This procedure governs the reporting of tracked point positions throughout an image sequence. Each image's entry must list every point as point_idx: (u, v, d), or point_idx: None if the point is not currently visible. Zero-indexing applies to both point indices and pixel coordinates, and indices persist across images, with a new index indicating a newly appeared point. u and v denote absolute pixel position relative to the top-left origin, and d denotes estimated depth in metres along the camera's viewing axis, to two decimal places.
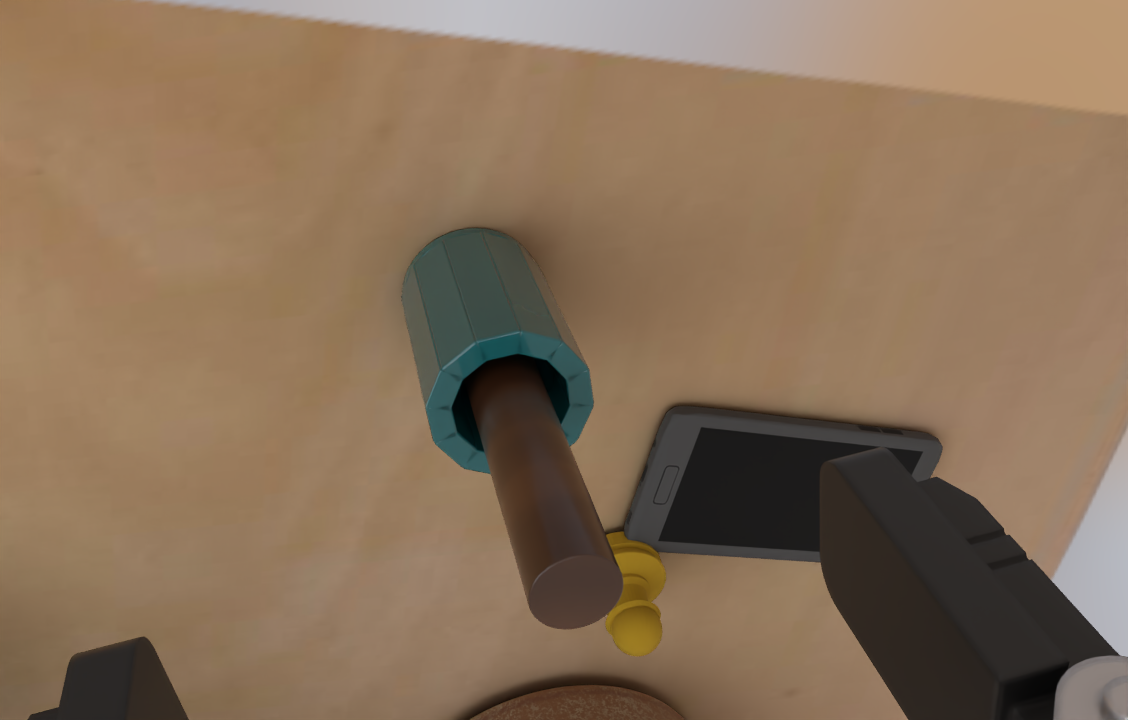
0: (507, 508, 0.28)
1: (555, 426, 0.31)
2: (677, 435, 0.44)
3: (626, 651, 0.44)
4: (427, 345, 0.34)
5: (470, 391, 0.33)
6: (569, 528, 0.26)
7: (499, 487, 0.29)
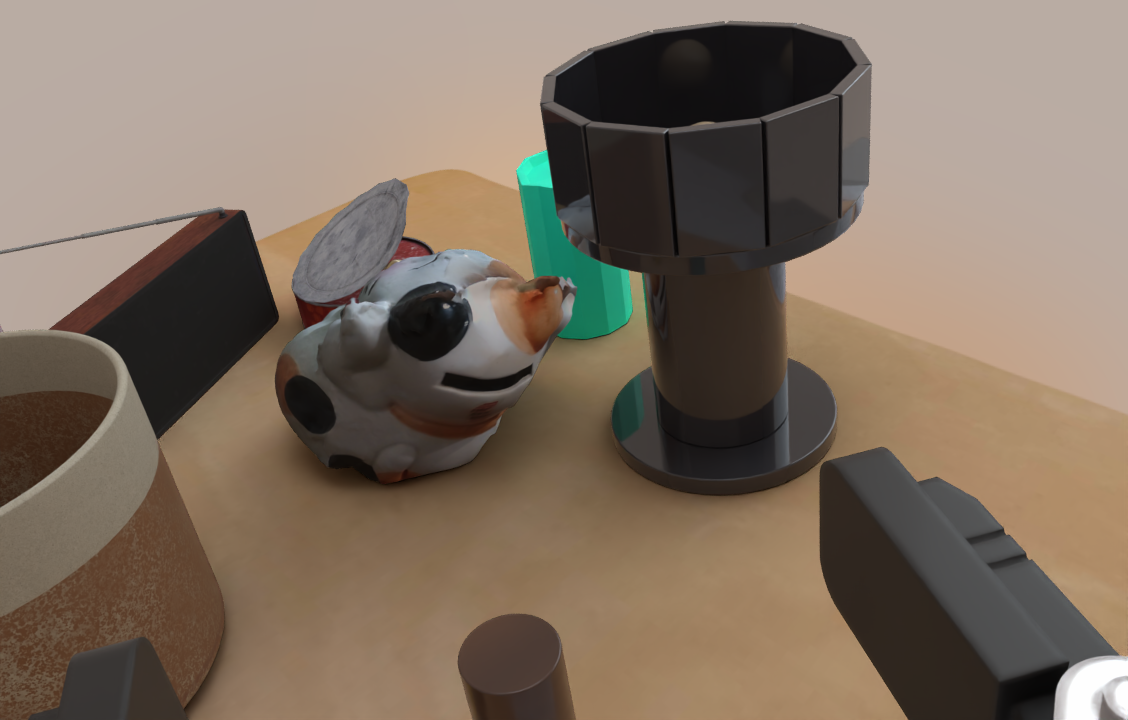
0: None
1: None
2: None
3: None
4: None
5: None
6: (554, 706, 0.24)
7: None
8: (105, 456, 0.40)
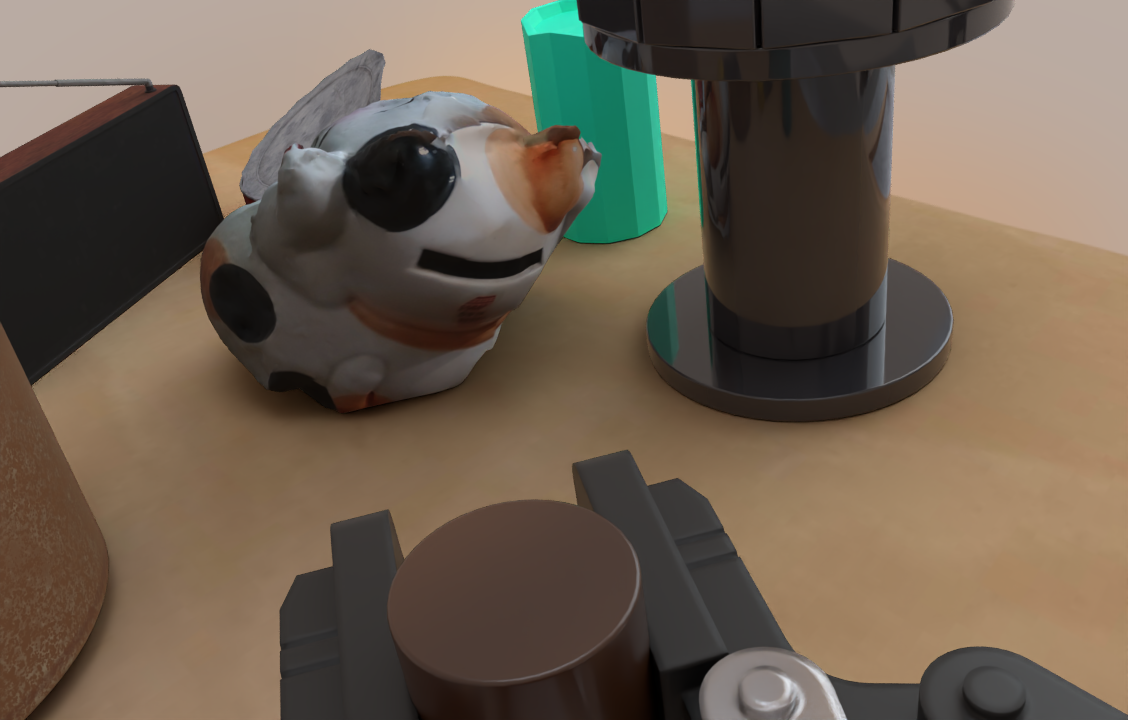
0: None
1: None
2: None
3: None
4: None
5: None
6: (623, 714, 0.10)
7: None
8: None
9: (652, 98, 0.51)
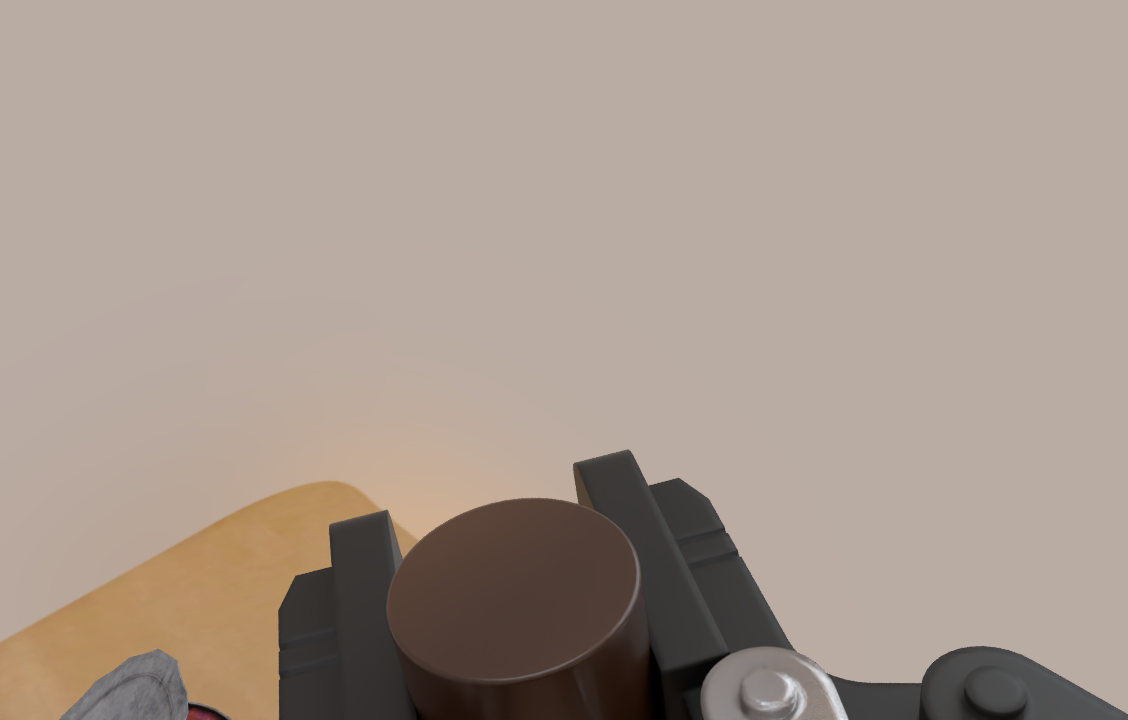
0: None
1: None
2: None
3: None
4: None
5: None
6: (622, 712, 0.10)
7: None
8: None
9: None
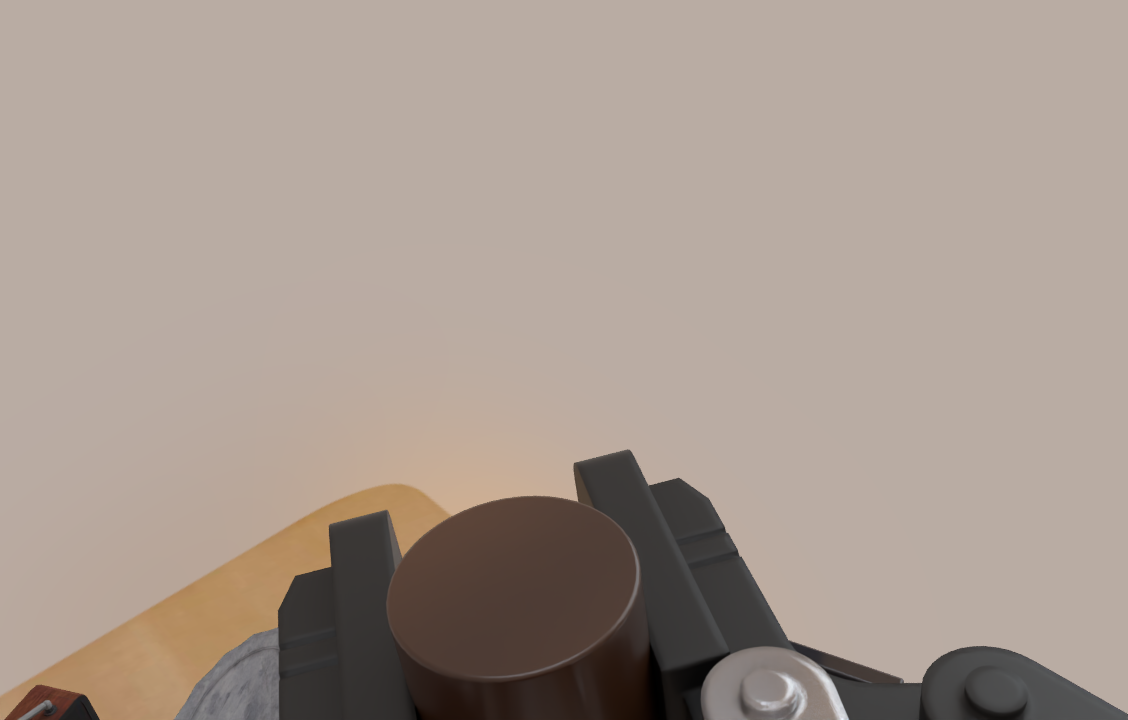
0: None
1: None
2: None
3: None
4: None
5: None
6: (622, 711, 0.10)
7: None
8: None
9: None
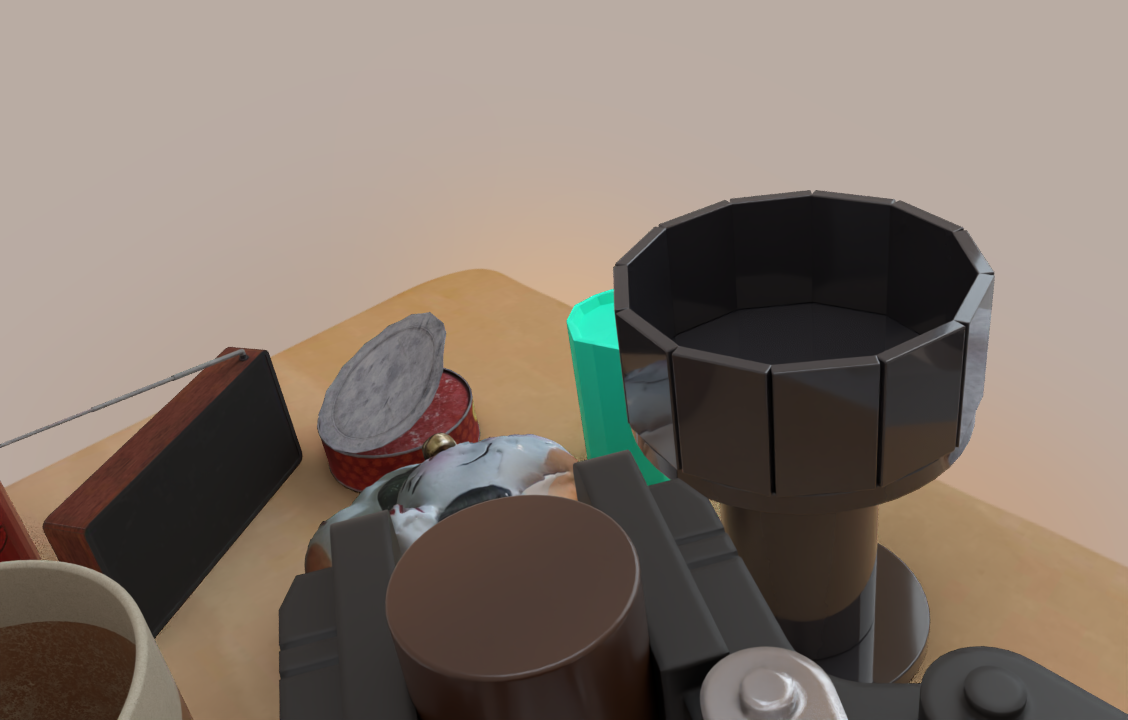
0: None
1: None
2: None
3: None
4: None
5: None
6: (622, 710, 0.10)
7: None
8: None
9: None
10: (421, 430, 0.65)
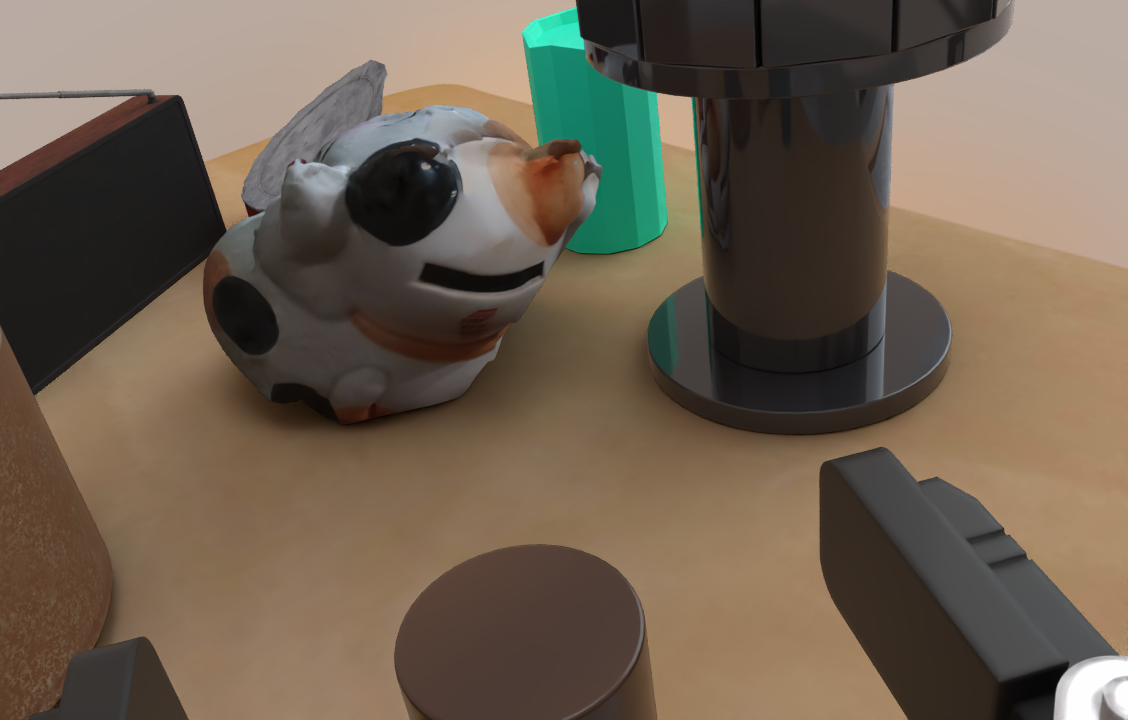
0: None
1: None
2: None
3: None
4: None
5: None
6: None
7: None
8: None
9: (652, 110, 0.51)
10: None
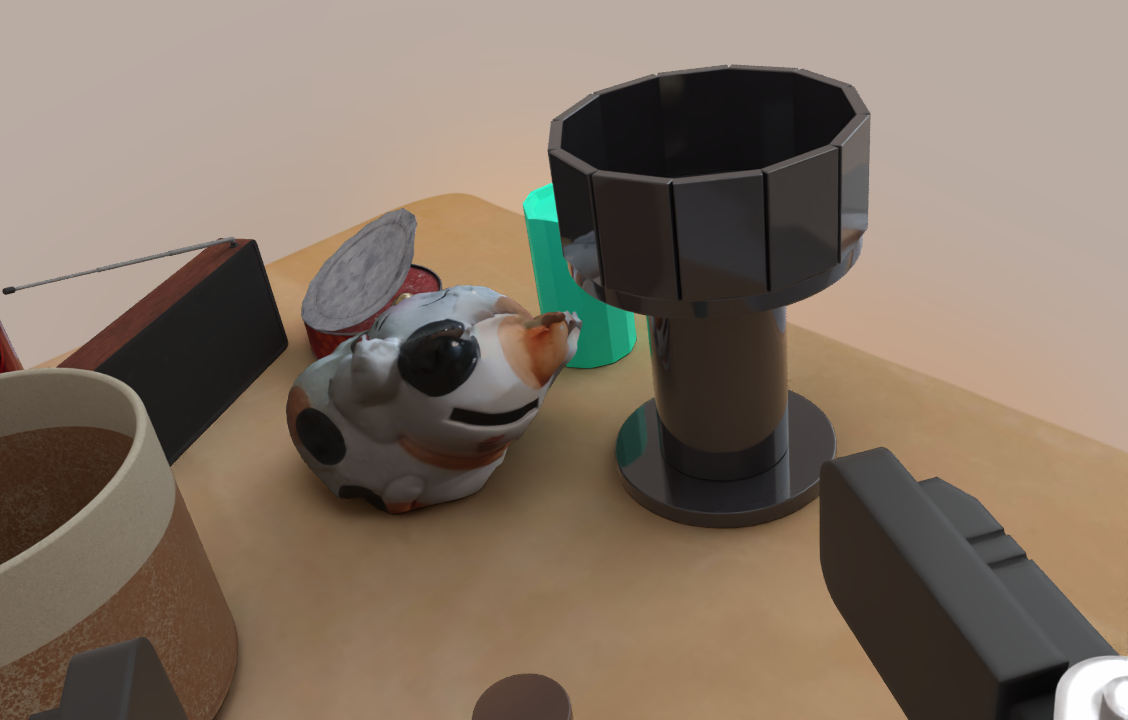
0: None
1: None
2: None
3: None
4: None
5: None
6: None
7: None
8: (125, 497, 0.41)
9: None
10: None
